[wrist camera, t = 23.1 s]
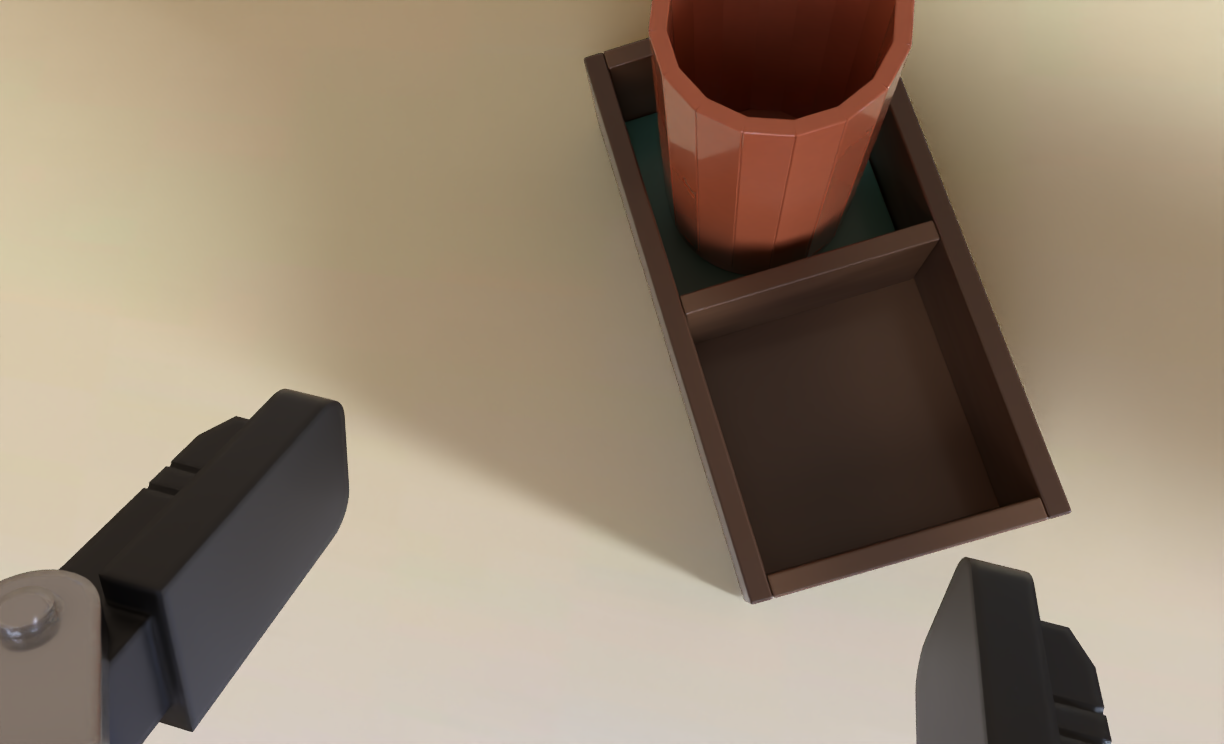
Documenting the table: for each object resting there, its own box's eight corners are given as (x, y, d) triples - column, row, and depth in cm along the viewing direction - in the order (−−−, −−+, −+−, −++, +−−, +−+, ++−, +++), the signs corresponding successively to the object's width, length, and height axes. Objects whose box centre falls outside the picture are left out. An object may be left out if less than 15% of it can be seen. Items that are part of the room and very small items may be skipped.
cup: (815, 86, 30) (863, -131, 21) (874, 246, 29) (952, 89, 20) (646, 137, 31) (620, -55, 21) (697, 298, 29) (692, 168, 20)
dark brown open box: (840, 49, 31) (860, -29, 27) (1020, 522, 28) (1073, 512, 24) (598, 123, 32) (582, 57, 28) (744, 601, 28) (750, 605, 24)
